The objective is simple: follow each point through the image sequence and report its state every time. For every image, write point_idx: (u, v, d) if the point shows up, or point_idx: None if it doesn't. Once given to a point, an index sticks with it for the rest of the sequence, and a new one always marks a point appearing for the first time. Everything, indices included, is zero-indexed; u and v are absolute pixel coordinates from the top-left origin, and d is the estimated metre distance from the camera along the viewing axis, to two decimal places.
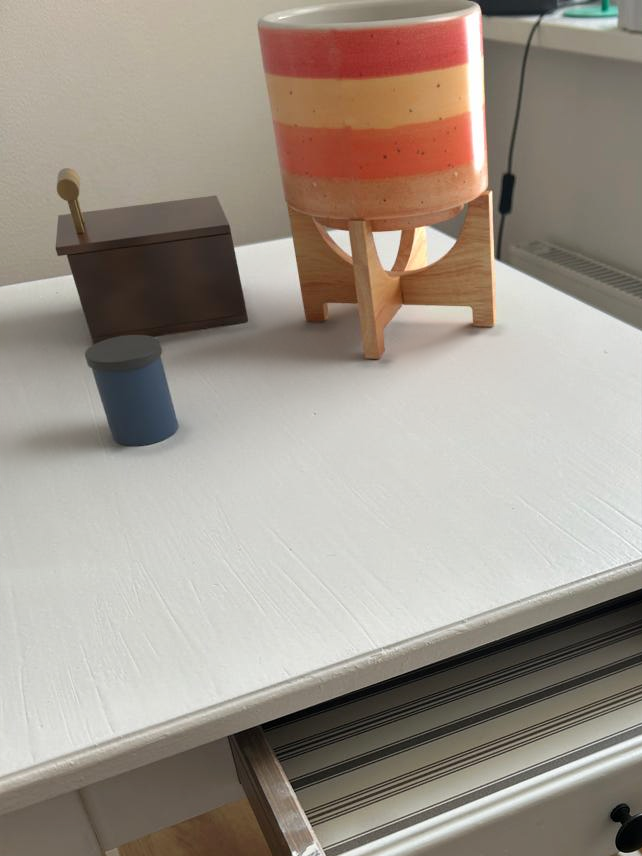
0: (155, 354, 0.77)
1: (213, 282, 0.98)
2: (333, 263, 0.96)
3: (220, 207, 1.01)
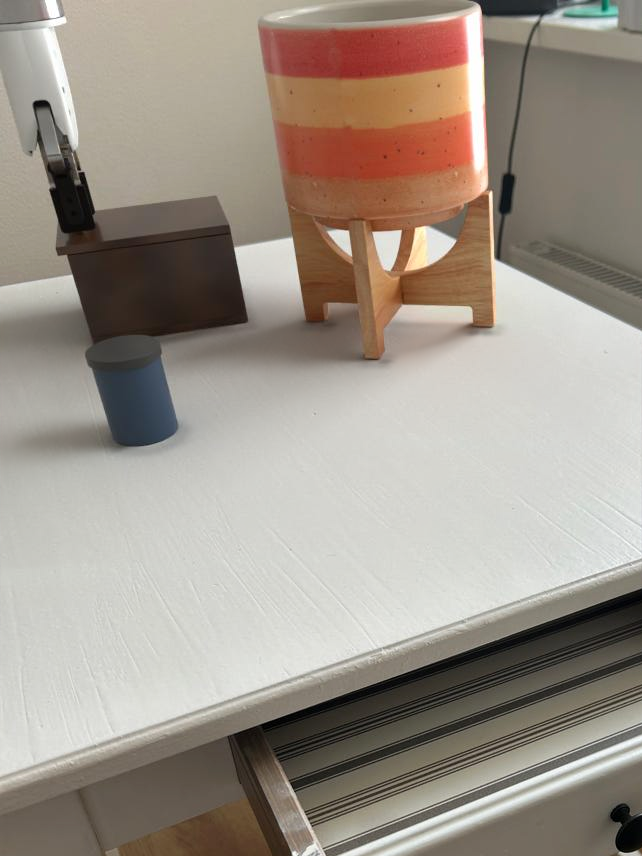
0: (155, 354, 0.77)
1: (213, 282, 0.98)
2: (333, 263, 0.96)
3: (220, 207, 1.01)
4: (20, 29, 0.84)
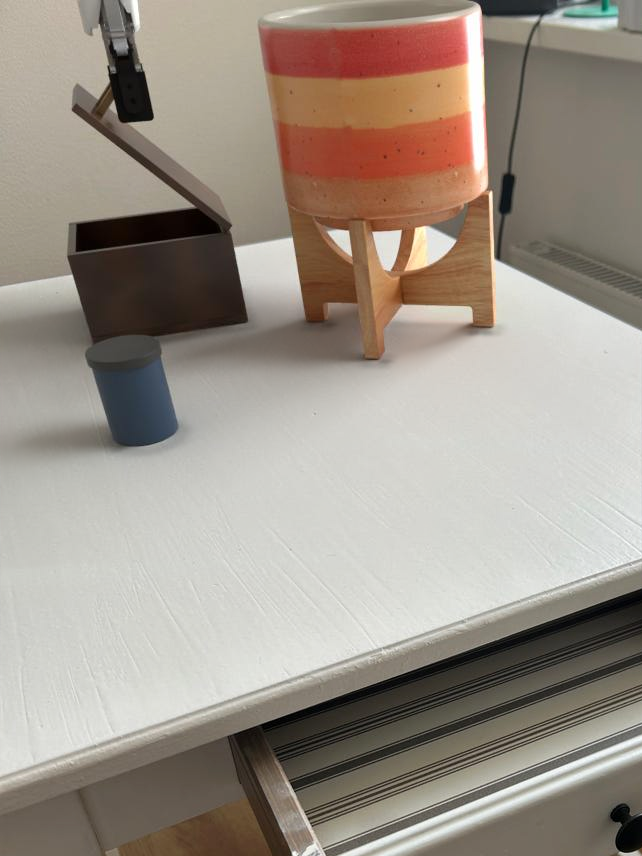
0: (155, 354, 0.77)
1: (213, 282, 0.98)
2: (333, 263, 0.96)
3: (223, 207, 1.01)
4: None
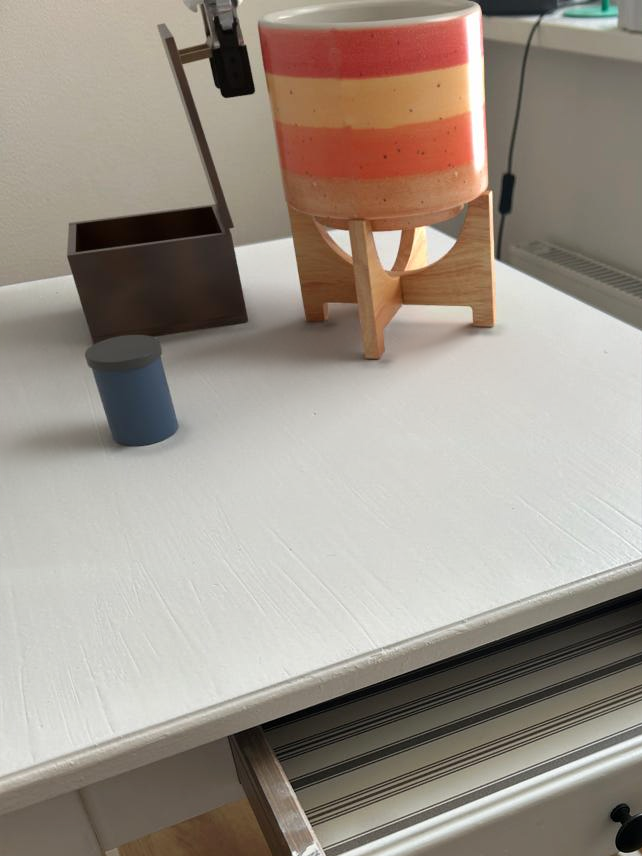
0: (155, 354, 0.77)
1: (213, 282, 0.98)
2: (333, 263, 0.96)
3: None
4: None
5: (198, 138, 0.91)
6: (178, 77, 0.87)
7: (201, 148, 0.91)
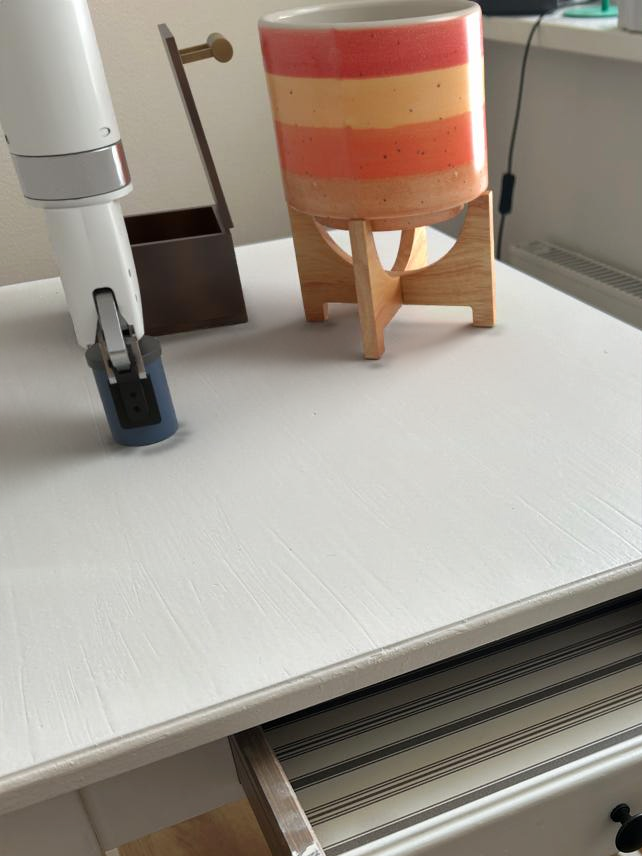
0: (155, 354, 0.77)
1: (213, 282, 0.98)
2: (333, 263, 0.96)
3: None
4: (79, 206, 0.68)
5: (198, 138, 0.91)
6: (178, 77, 0.87)
7: (201, 148, 0.91)
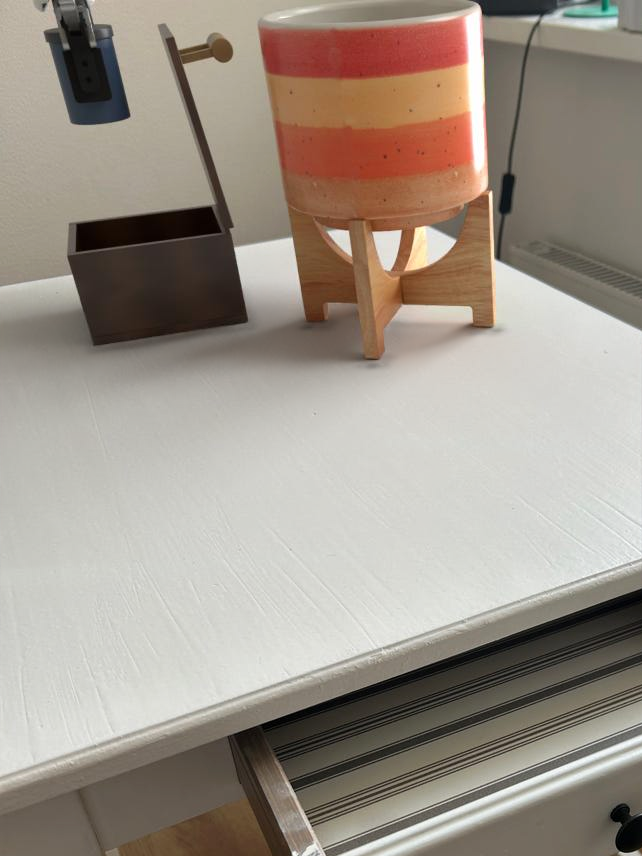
0: (106, 32, 0.86)
1: (213, 282, 0.98)
2: (333, 263, 0.96)
3: None
4: None
5: (198, 138, 0.91)
6: (178, 77, 0.87)
7: (201, 148, 0.91)
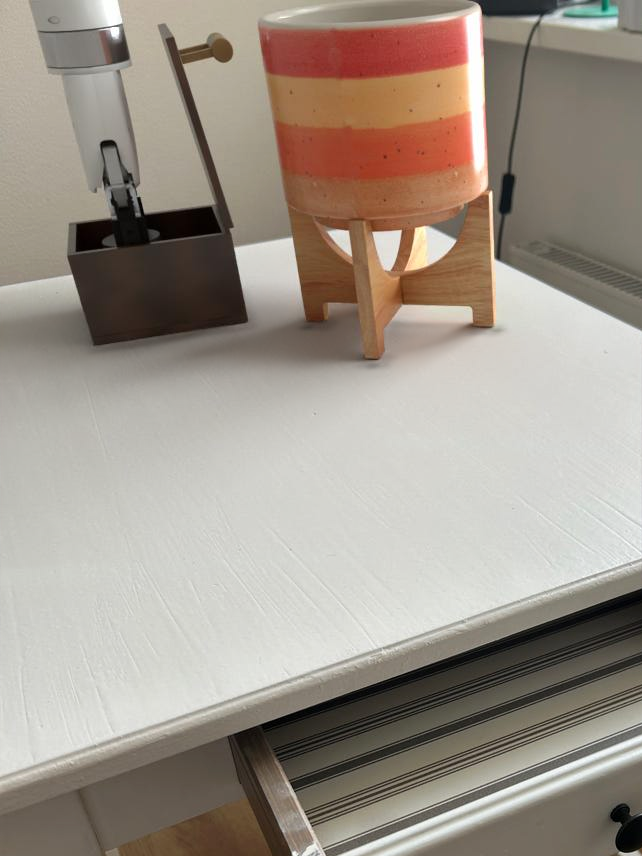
0: (156, 241, 0.99)
1: (213, 282, 0.98)
2: (333, 263, 0.96)
3: None
4: (90, 73, 0.87)
5: (198, 138, 0.91)
6: (178, 77, 0.87)
7: (201, 148, 0.91)
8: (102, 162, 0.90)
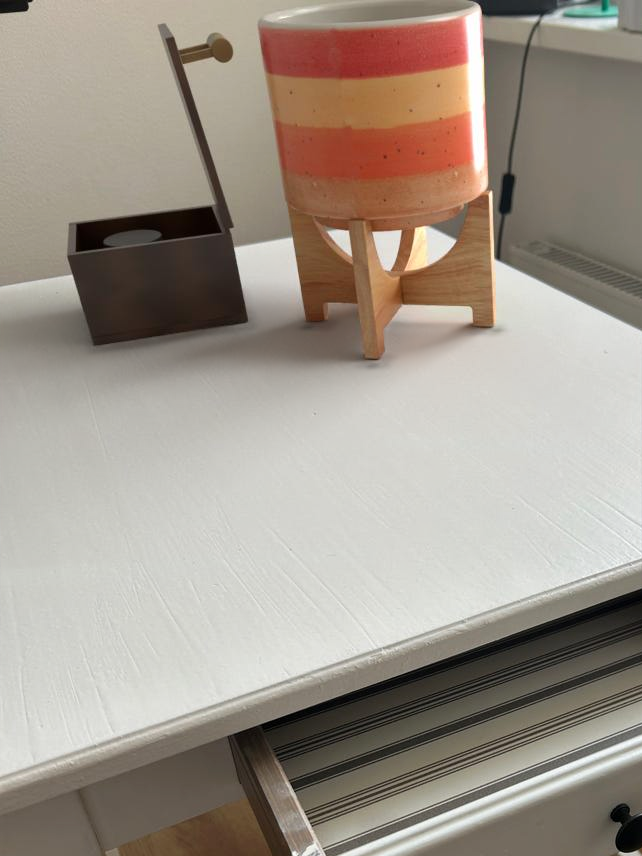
0: None
1: (213, 282, 0.98)
2: (333, 263, 0.96)
3: None
4: None
5: (198, 138, 0.91)
6: (178, 77, 0.87)
7: (201, 148, 0.91)
8: None
